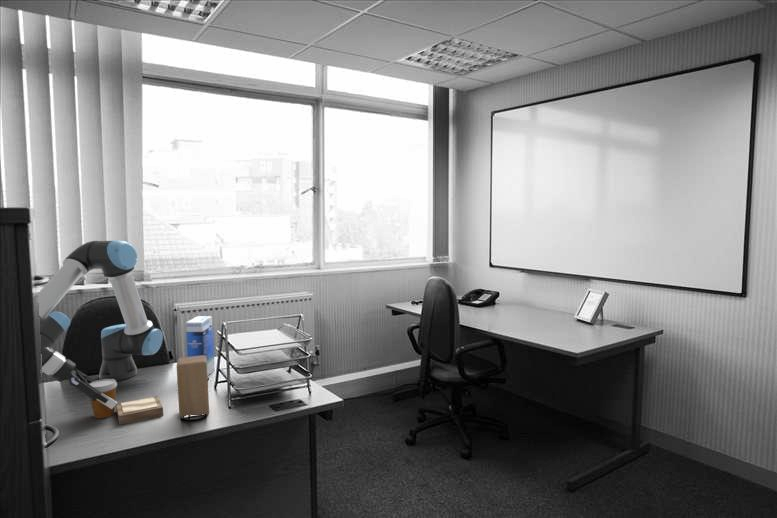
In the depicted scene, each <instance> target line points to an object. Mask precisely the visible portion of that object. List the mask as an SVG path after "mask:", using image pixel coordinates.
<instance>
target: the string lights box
mask: <svg viewBox="0 0 777 518" xmlns="http://www.w3.org/2000/svg"><path fill="white" fill-rule="evenodd" d="M213 329H214V328H213V316H212V315H207V316H206V315H204V316H203V315H202V316H201V315H198V316H195V317H193V318H192V319H190V320H188V321H186V322H185V335H186V354H187V355H186V357H192V356H201V355H204V356H206V359H207V376H208V375H209V374H210V375H211V374H212V373H213V372H214V371H215V370H216V369H215V368H216V367H215V352H214V349H215V347H214V332H213ZM210 375H209V376H210ZM209 376H208V377H209Z"/></svg>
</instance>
